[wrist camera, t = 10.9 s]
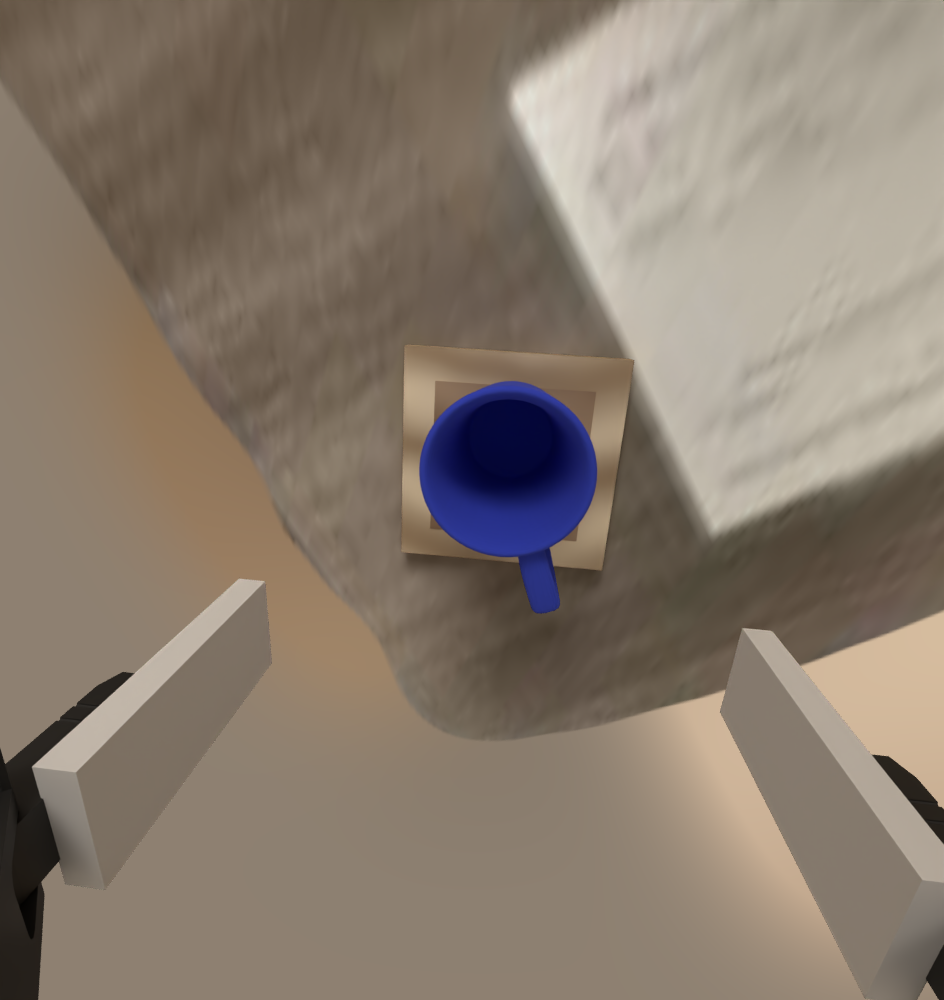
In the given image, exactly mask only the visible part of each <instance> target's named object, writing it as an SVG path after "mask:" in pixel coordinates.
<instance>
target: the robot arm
mask: <svg viewBox="0 0 944 1000" xmlns="http://www.w3.org/2000/svg"><path fill="white" fill-rule="evenodd" d="M270 647H271V646H270V635H269V622H268V610H267V598H266V585H265V581H257V580H247V579H238V580H237V581H236V582H235V583H234V584H233V585H232V586H231V587H229V588H228V589H227V590H226V591H225V592H224V593H223V594H222V595H221V596H220V597H219V598H217V599H216V600H215V601H214V602H213V603H212V604H211V605H210V606H209V607H207V608H206V609H205V610H204V611H203V612H202V613H201V614H200V615H199V616H198V617H196V618H195V619H194V620H193V621H192V622H191V623H190V624H189V625H188V626H186V627H185V628H184V629H183V630H182V631H181V632H180V633H179V634H178V635H177V636H176V637H174V638H173V639H172V640H171V641H170V642H169V643H168V644H167V645H166V646H164V647H163V648H162V649H161V650H160V651H159V652H158V653H157V654H156V655H155V656H154V657H152V658H151V659H150V660H149V661H148V662H147V663H146V664H145V665H144V666H143V667H141V668H140V669H139V670H138V671H137V672H136V673H126V672H122V673H120V674H118V675H116V676H115V677H113V678H111V679H109V680H107V681H106V682H103V683H102V684H99V685H98V686H96V687H95V688H94V689H93V690H92V691H91V692H89V693H88V694H87V695H86V696H85V697H84V698H82V699H81V700H80V701H79V702H78V703H77V705H76V707H74V706H73V707H72V708H71V709H70V710H68V711H67V712H66V713H65V714H64V715H62V716H61V717H60V720H59V721H55V722H54V723H53V724H52V725H51V726H50V727H48V728H47V729H46V730H45V731H44V732H43V733H41V734H40V735H39V736H38V737H37V738H36V739H34V740H33V741H32V742H31V743H30V744H29V745H27V746H26V747H25V748H24V749H23V750H22V751H20V752H19V753H18V754H17V755H16V756H15V757H14V758H12V759H11V760H10V761H9V762H7V763H6V764H5V763H4V760H3V756H2V753H1V749H0V1000H38V993H39V976H40V960H41V944H42V928H43V911H44V891H43V887H42V883H41V881H42V880H43V879H44V878H45V876H47V874H48V873H49V872H50V871H51V870H52V868H53V867H54V866H55V865H56V864H57V863H58V862H59V863H60V867H61V871H62V874H63V878H64V881H65V884H67V885H74V886H81V887H88V888H95V889H103V890H105V889H106V888H107V887H108V886H109V884H110V883H111V882H112V880H113V879H114V877H115V876H116V875H117V873H118V872H119V870H120V869H121V868H122V867H123V865H124V864H125V862H126V861H127V860H128V858H129V857H130V856H131V854H132V853H133V852H134V850H135V849H136V847H137V846H138V845H139V843H140V842H141V841H142V839H143V838H144V837H145V835H146V834H147V832H148V831H149V830H150V828H151V827H152V826H153V824H154V823H155V822H156V820H157V819H158V817H159V816H160V815H161V813H162V812H163V810H164V809H165V808H166V807H167V805H168V804H169V802H170V801H171V799H172V798H173V797H174V796H175V794H176V793H177V792H178V790H179V789H180V788H181V786H182V785H183V783H184V782H185V780H186V779H187V778H188V777H189V775H190V774H191V773H192V771H193V769H194V768H195V767H196V766H197V764H198V763H199V761H200V760H201V759H202V757H203V756H204V755H205V753H206V752H207V751H208V749H209V748H210V747H211V745H212V744H213V743H214V741H215V740H216V738H217V737H218V736H219V734H220V733H221V732H222V730H223V729H224V728H225V726H226V725H227V723H228V722H229V721H230V719H231V718H232V717H233V715H234V714H235V713H236V711H237V710H238V709H239V707H240V706H241V704H242V703H243V702H244V700H245V699H246V698H247V696H248V695H249V693H250V692H251V691H252V689H253V688H254V687H255V685H256V684H257V683H258V681H259V680H260V678H261V677H262V676H263V674H264V673H265V672H266V670H267V669H268V668H269V666H270V665H271V664H272V658H271V648H270ZM720 713H721V715H722V716H723V718H724V721H725V723H726V725H727V727H728V729H729V730H730V732H731V735H732V736H733V739H734V741H735V742H736V744H737V746H738V748H739V750H740V752H741V754H742V756H743V758H744V760H745V762H746V764H747V766H748V768H749V770H750V772H751V774H752V776H753V778H754V780H755V782H756V784H757V786H758V788H759V790H760V792H761V794H762V796H763V798H764V800H765V802H766V804H767V806H768V808H769V810H770V812H771V814H772V816H773V818H774V820H775V822H776V824H777V826H778V827H779V830H780V832H781V834H782V836H783V838H784V839H785V841H786V844H787V846H788V847H789V849H790V851H791V853H792V855H793V857H794V859H795V861H796V863H797V865H798V867H799V869H800V871H801V873H802V875H803V877H804V879H805V881H806V883H807V885H808V887H809V889H810V891H811V893H812V895H813V897H814V899H815V901H816V902H817V905H818V907H819V909H820V911H821V913H822V915H823V917H824V919H825V921H826V923H827V925H828V927H829V929H830V931H831V933H832V935H833V937H834V939H835V940H836V943H837V945H838V947H839V948H840V951H841V952H842V954H843V956H844V958H845V960H846V962H847V964H848V966H849V968H850V970H851V972H852V974H853V976H854V978H855V980H856V982H857V984H858V986H859V988H860V990H861V992H862V994H863V996H864V998H865V999H872V1000H917V999H918V997H919V995H920V993H921V992H922V990H923V988H924V986H925V984H926V982H927V981H928V983H929V984H930V986H931V988H932V989H933V991H934V993H935V994H936V996H937V998H938V999H939V1000H944V809H943V808H942V807H939V806H938V802H937V801H936V800H935V799H934V797H933V796H932V795H931V794H930V793H929V792H928V791H927V789H926V788H925V787H924V786H923V785H922V784H921V782H920V781H919V780H918V779H917V778H916V777H915V776H913V775H912V774H911V773H909V772H908V771H907V770H906V769H904V768H903V767H901V766H900V765H899V764H898V763H897V762H895V761H894V760H893V759H891V758H890V757H888V756H880V755H871V754H870V752H869V751H868V750H867V749H866V747H865V746H864V745H863V744H862V742H861V741H860V740H859V739H858V737H857V736H856V735H855V734H854V733H853V731H852V730H851V729H850V727H849V726H848V725H847V724H846V722H845V721H844V720H843V719H842V718H841V717H840V715H839V714H838V713H837V711H836V710H835V709H834V708H833V706H832V705H831V704H830V703H829V701H828V700H827V699H826V698H825V696H824V695H823V694H822V693H821V691H820V690H819V689H818V688H817V686H816V685H815V684H814V683H813V681H812V680H811V679H810V678H809V676H808V675H807V674H806V673H805V671H804V670H803V669H802V668H801V667H800V665H799V664H798V663H797V662H796V660H795V659H794V658H793V657H792V655H791V654H790V653H789V652H788V650H787V649H786V648H785V647H784V645H783V644H782V643H781V642H780V640H779V639H778V638H777V637H776V635H775V634H774V633H773V632H772V631H767V630H757V629H747V628H742V631H741V634H740V638H739V642H738V646H737V650H736V653H735V657H734V661H733V665H732V668H731V672H730V676H729V680H728V684H727V687H726V691H725V696H724V699H723V702H722V706H721V710H720Z"/></svg>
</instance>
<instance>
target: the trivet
mask: <svg viewBox="0 0 944 1000" xmlns="http://www.w3.org/2000/svg"><path fill="white" fill-rule="evenodd" d="M633 365H634V360H631V359H623V358H607V357H592V356H576V355H561V354H545V353H530V352H515V351H499V350H484V349H468V348H453V347H437V346H422V345H405V351H404V415H403V478H402V542H401V552H406V553H417V554H428V555H439V556H450V557H461V558H472V559H482V560H493V561H504V562H515V563H519V560H518V557H497V556H490V555H486V554H482V553H479V552H476V551H474V550H471V549H469V548H467V547H465V546H464V545H462V544H460V543H459V542H457V541H456V540H454V539H453V538H452V537H450V536H449V535H448V534H447V533H446V532H445V531H444V530H443V529H442V528H441V527H440V526H439V525H438V523H437V522H436V521H435V519H434V518H433V516H432V515H431V513H430V511H429V509H428V507H427V505H426V503H425V500H424V497H423V494H422V491H421V485H420V477H419V464H420V456H421V452H422V448H423V445H424V442H425V440H426V437H427V435H428V433H429V431H430V429H431V428H432V426H433V425H434V423H435V422H436V420H437V419H438V418H439V417H440V415H441V414H442V413H443V412H444V411H445V410H446V409H447V408H448V407H450V406H451V405H452V404H453V403H455V402H456V401H458V400H459V399H461V398H462V397H464V396H466V395H468V394H470V393H472V392H475V391H477V390H479V389H482V388H484V387H486V386H489V385H491V384H494V383H498V382H504V381H518V382H524V383H528V384H531V385H534V386H536V387H538V388H540V389H541V390H543V391H545V392H546V393H548V394H549V395H551V396H552V397H554V398H555V399H557V400H559V401H560V402H561V403H563V404H564V405H565V406H567V407H568V408H569V409H570V410H571V411H572V412H573V413H574V414H575V415H576V416H577V417H578V419H579V420H580V421H581V423H582V424H583V426H584V427H585V429H586V431H587V432H588V434H589V436H590V439H591V441H592V444H593V447H594V451H595V455H596V461H597V483H596V488H595V493H594V496H593V499H592V502H591V504H590V507H589V509H588V511H587V512H586V514H585V516H584V517H583V519H582V520H581V522H580V523H579V524H578V525H577V527H576V528H575V529H574V530H573V531H572V532H571V533H570V534H569V535H568V536H567V537H565V538H564V539H563V540H561V541H560V542H558V543H557V544H555V545H553V546H552V547H550V551H551V556H552V561H553V566H559V567H570V568H581V569H592V570H602V567H603V561H604V554H605V548H606V541H607V535H608V528H609V522H610V515H611V509H612V502H613V496H614V489H615V483H616V476H617V470H618V463H619V456H620V450H621V443H622V437H623V430H624V424H625V417H626V411H627V404H628V398H629V391H630V385H631V378H632V372H633Z"/></svg>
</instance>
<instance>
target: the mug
mask: <svg viewBox="0 0 944 1000" xmlns="http://www.w3.org/2000/svg"><path fill="white" fill-rule="evenodd" d="M419 477H420V485H421V491H422V494H423V497H424V500H425V503H426V505H427V507H428V509H429V511H430V513H431V515H432V516H433V518H434V519H435V521H436V522H437V523H438V525H439V526H440V527H441V528H442V529H443V530H444V531H445V532H446V533H447V534H448V535H449V536H450V537H452V538H453V539H454V540H456V541H457V542H459V543H460V544H462V545H464V546H465V547H467V548H469V549H471V550H474V551H476V552H479V553H482V554H486V555H490V556H497V557H518V560H519V565H520V569H521V574H522V578H523V582H524V585H525V588H526V592H527V595H528V599H529V602H530V605H531V608H532V610H533V611H534V612H536V613H547V612H551V611H555V610H556V609H557V608H559V605H560V599H559V594H558V588H557V583H556V577H555V572H554V567H553V561H552V556H551V551H550V547H552V546H553V545H555V544H557V543H558V542H560V541H561V540H563V539H564V538H565V537H567V536H568V535H569V534H570V533H571V532H572V531H573V530H574V529H575V528H576V527H577V525H578V524H579V523H580V522H581V520H582V519H583V517H584V516H585V514H586V512H587V511H588V509H589V507H590V504H591V502H592V499H593V496H594V493H595V488H596V483H597V461H596V455H595V451H594V447H593V444H592V441H591V439H590V436H589V434H588V432H587V431H586V429H585V427H584V426H583V424H582V423H581V421H580V420H579V419H578V417H577V416H576V415H575V414H574V413H573V412H572V411H571V410H570V409H569V408H568V407H567V406H565V405H564V404H563V403H561V402H560V401H559V400H557V399H555V398H554V397H552V396H551V395H549V394H548V393H546V392H545V391H543V390H541V389H540V388H538V387H536V386H534V385H531V384H528V383H524V382H518V381H504V382H498V383H494V384H491V385H489V386H486V387H484V388H482V389H479V390H477V391H475V392H472V393H470V394H468V395H466V396H464V397H462V398H461V399H459V400H458V401H456V402H455V403H453V404H452V405H451V406H450V407H448V408H447V409H446V410H445V411H444V412H443V413H442V414H441V415H440V417H439V418H438V419H437V420H436V422H435V423H434V425H433V426H432V428H431V429H430V431H429V433H428V435H427V437H426V440H425V442H424V445H423V448H422V452H421V456H420V464H419Z"/></svg>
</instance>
